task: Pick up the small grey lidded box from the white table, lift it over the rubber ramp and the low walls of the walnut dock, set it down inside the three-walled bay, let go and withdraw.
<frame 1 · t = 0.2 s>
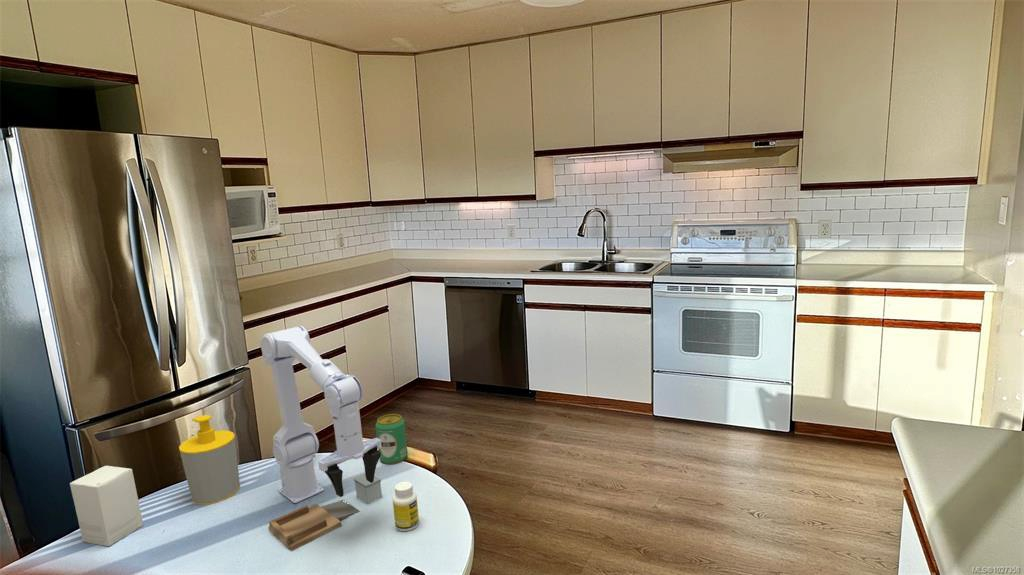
hand: (355, 487, 131), 10 cm above the table, tool pointing down, fingers open, 7 cm apart
soap bottle: (216, 493, 153), on the table
beverage can: (393, 458, 166), on the table
dock: (305, 527, 134), on the table
supplement bottle: (407, 525, 132), on the table
grey lidded box: (369, 497, 146), on the table
supplement box: (114, 534, 137), on the table
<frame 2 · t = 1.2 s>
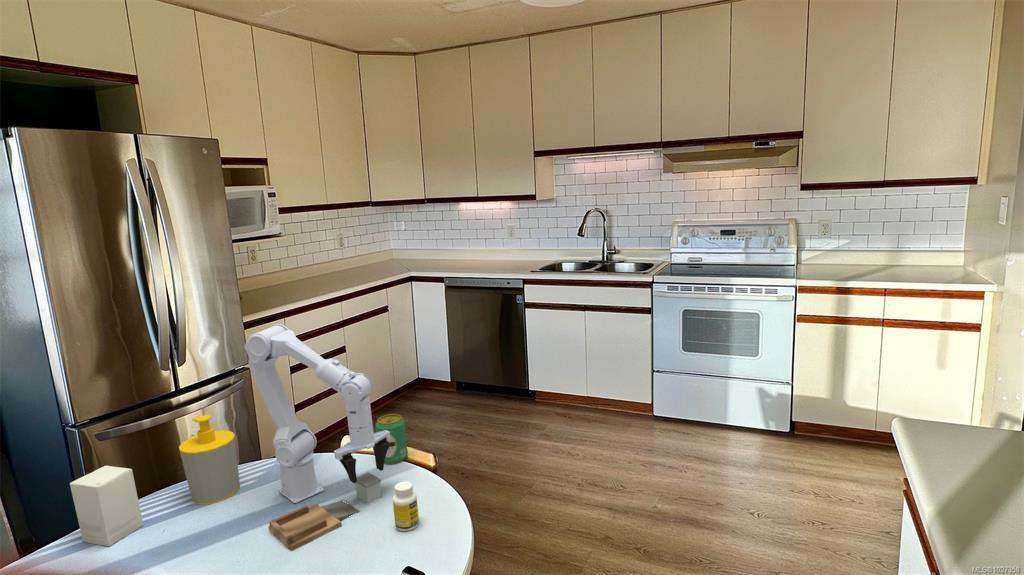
hand: (367, 475, 145), 6 cm above the table, tool pointing down, fingers open, 7 cm apart
nothing on the table moved.
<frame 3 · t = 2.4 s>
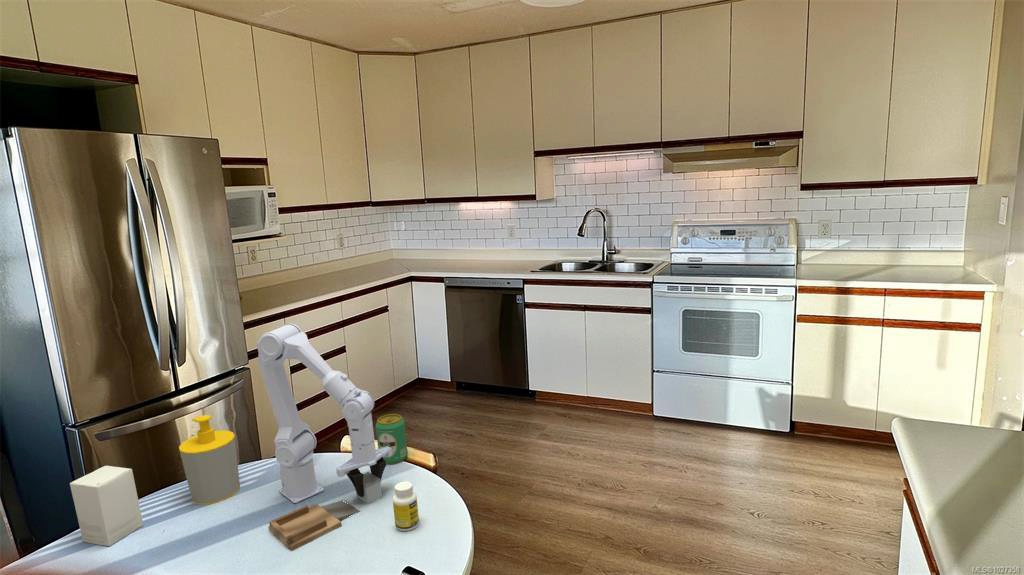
hand: (368, 491, 145), 1 cm above the table, tool pointing down, fingers closed on grey lidded box, 4 cm apart
grey lidded box: (369, 496, 146), on the table, touching gripper
everything else where it was.
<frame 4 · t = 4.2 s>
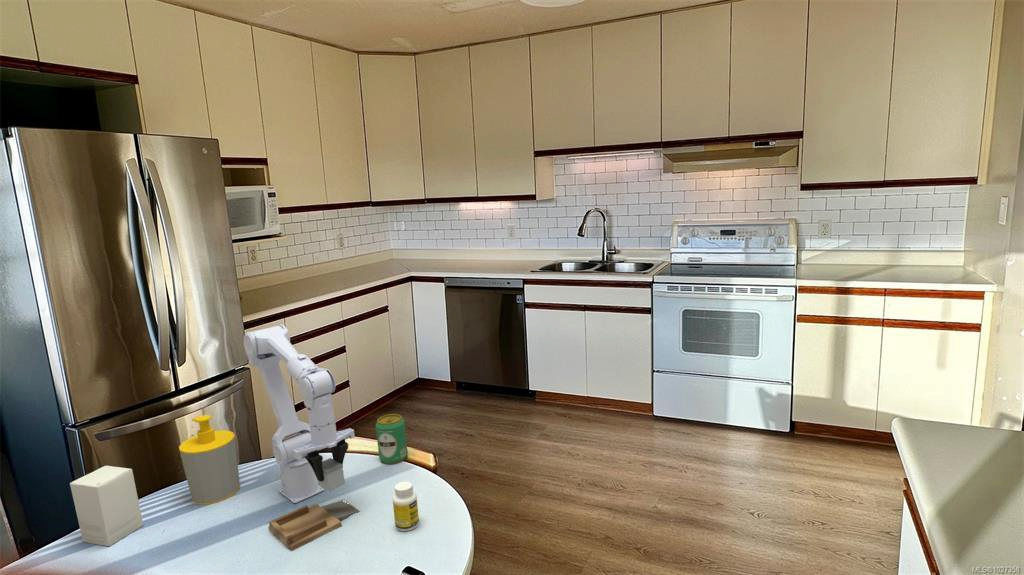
hand: (329, 475, 137), 10 cm above the table, tool pointing down, fingers closed on grey lidded box, 4 cm apart
grey lidded box: (331, 484, 138), point 8 cm above the table, touching gripper
everything else where it was.
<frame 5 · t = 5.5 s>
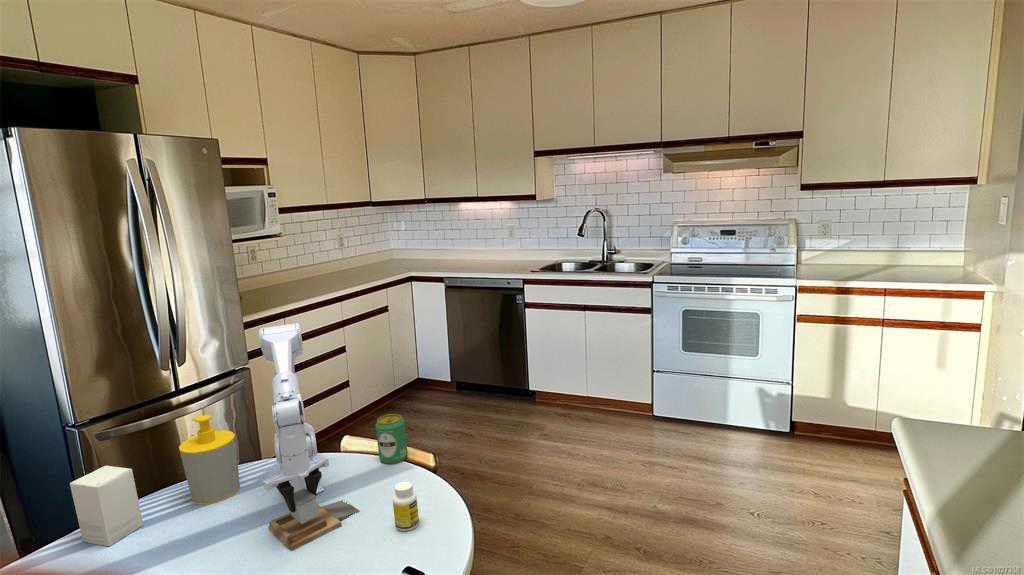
hand: (302, 506, 133), 6 cm above the table, tool pointing down, fingers closed on grey lidded box, 4 cm apart
grey lidded box: (304, 515, 133), point 3 cm above the table, touching gripper
everything else where it was.
when the fingers open (4 cm above the table, at t = 6.3 s): grey lidded box stays where it is, resting on dock.
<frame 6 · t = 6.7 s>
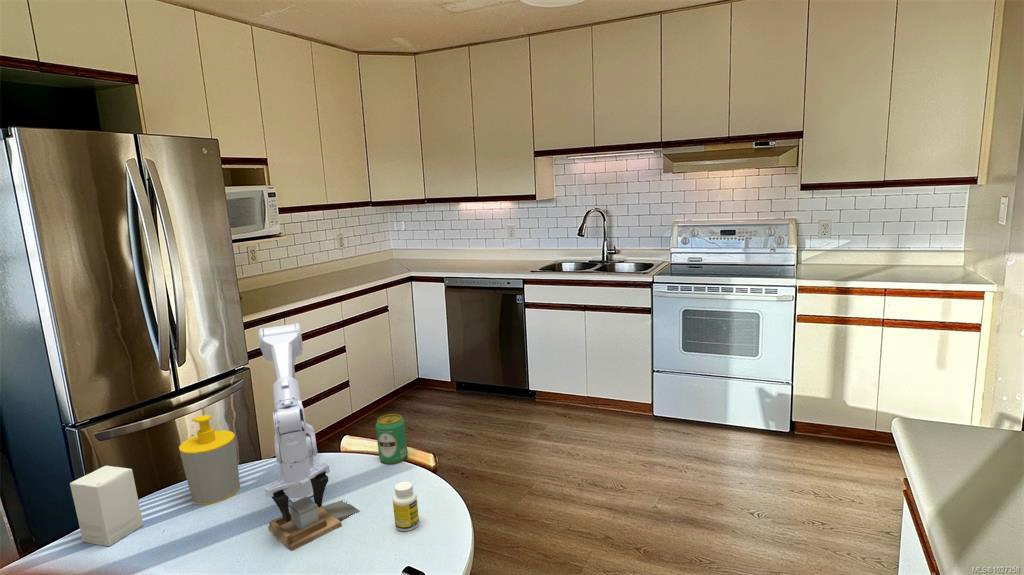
hand: (303, 512, 133), 4 cm above the table, tool pointing down, fingers open, 7 cm apart
grey lidded box: (305, 524, 134), point 1 cm above the table, touching dock
everything else where it was.
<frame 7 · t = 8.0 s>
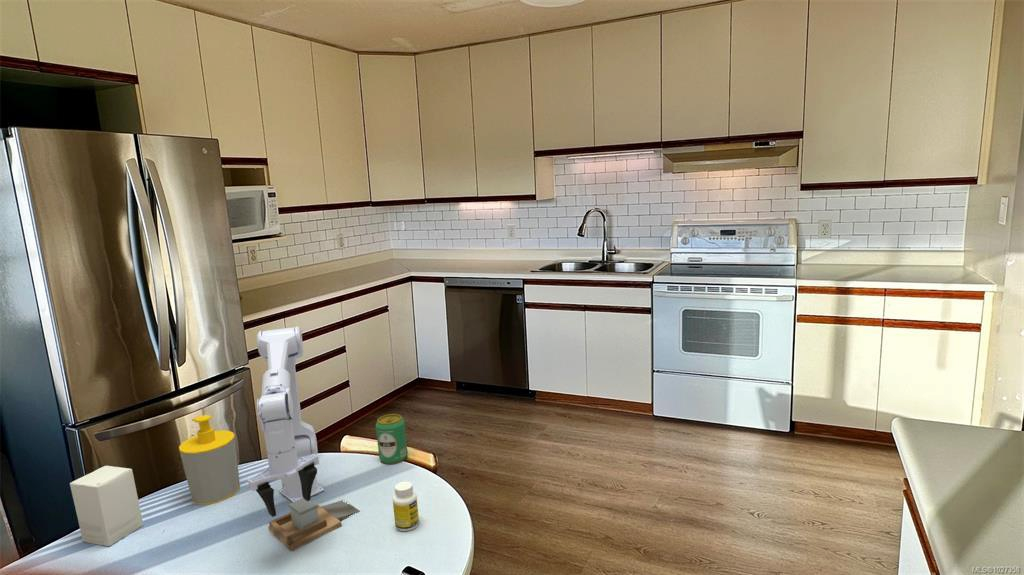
hand: (290, 506, 125), 10 cm above the table, tool pointing down, fingers open, 7 cm apart
nothing on the table moved.
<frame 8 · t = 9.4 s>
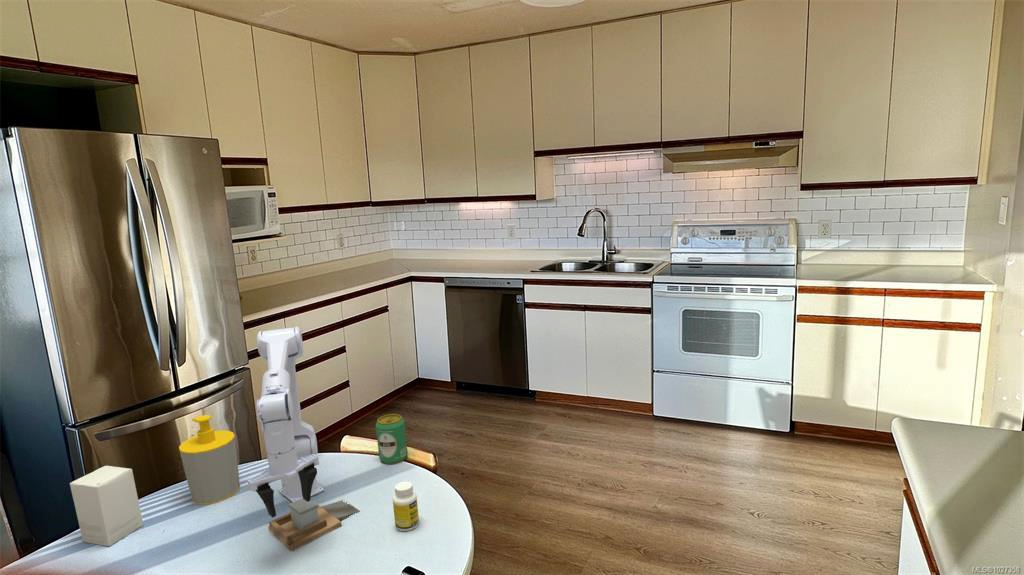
hand: (289, 507, 125), 10 cm above the table, tool pointing down, fingers open, 7 cm apart
nothing on the table moved.
at the end: grey lidded box inside the target area on the dock (0.7 cm from its centre), point 1.0 cm above the dock's base; grey lidded box tilted 0°; the gripper is holding nothing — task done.
